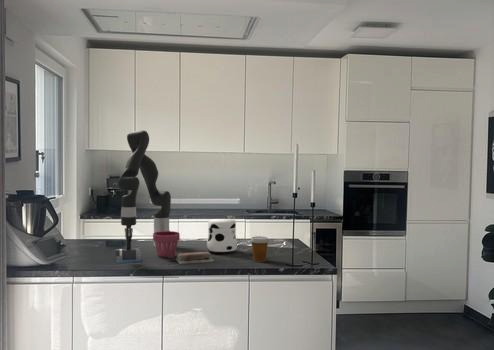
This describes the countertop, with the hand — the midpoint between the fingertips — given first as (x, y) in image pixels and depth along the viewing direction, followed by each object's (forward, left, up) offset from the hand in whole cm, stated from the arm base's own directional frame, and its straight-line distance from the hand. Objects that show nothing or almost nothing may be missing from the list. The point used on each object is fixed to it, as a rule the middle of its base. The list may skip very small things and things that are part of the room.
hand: (128, 249), depth 242 cm
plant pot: (-20, -7, -6) cm, 22 cm away
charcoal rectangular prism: (+1, 0, -5) cm, 5 cm away
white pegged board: (0, -6, -6) cm, 9 cm away
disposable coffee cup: (-66, +14, -6) cm, 68 cm away
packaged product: (-33, +7, -7) cm, 34 cm away
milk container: (-52, -12, -6) cm, 54 cm away
